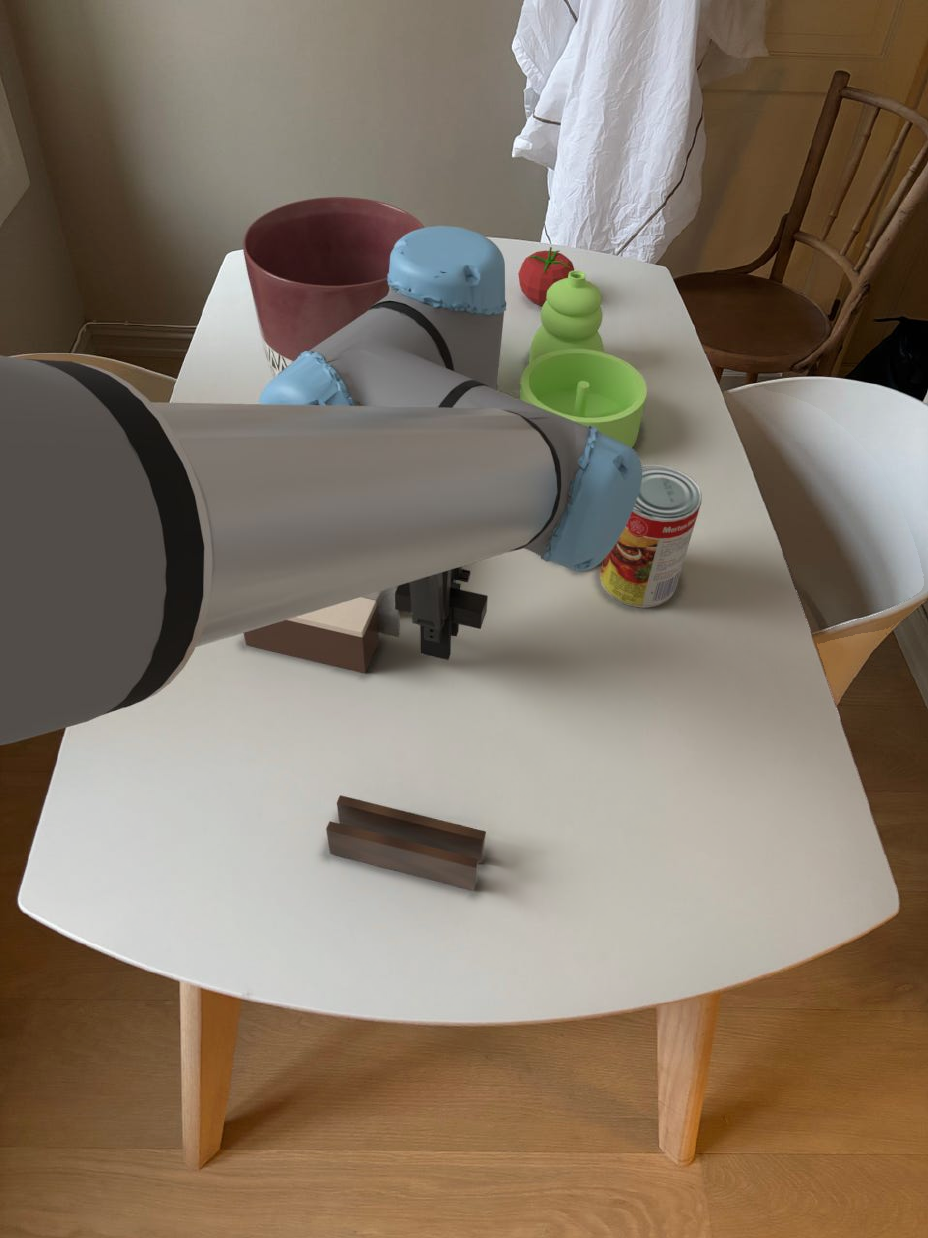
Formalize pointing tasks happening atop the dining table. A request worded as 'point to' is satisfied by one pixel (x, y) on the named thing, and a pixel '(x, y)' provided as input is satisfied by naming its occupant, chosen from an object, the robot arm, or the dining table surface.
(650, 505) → the canned food
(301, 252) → the planter
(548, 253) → the tomato
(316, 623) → the cake slice
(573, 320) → the green piece
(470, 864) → the stand
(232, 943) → the dining table surface
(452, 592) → the cake knife
